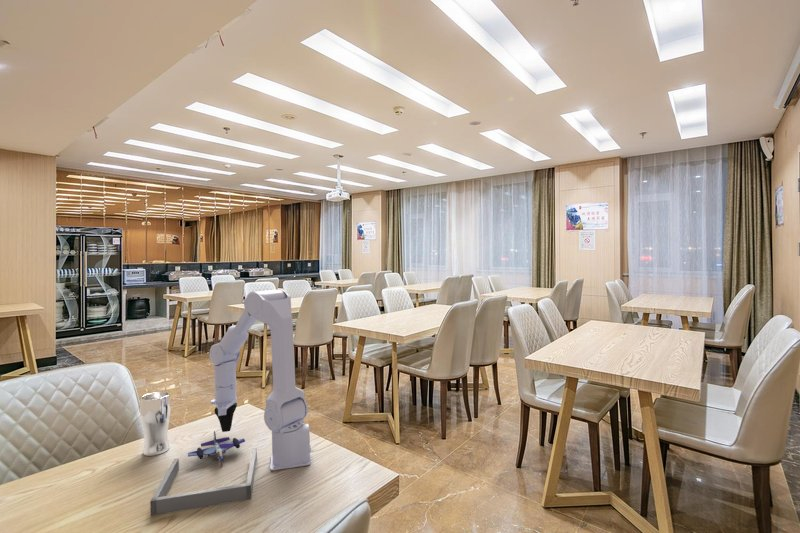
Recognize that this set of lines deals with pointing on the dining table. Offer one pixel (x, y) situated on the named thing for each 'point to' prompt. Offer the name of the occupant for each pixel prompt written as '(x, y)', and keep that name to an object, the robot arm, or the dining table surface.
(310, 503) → the dining table surface
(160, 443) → the silver metal cup
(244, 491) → the airplane jig
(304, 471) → the dining table surface
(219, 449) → the toy airplane
